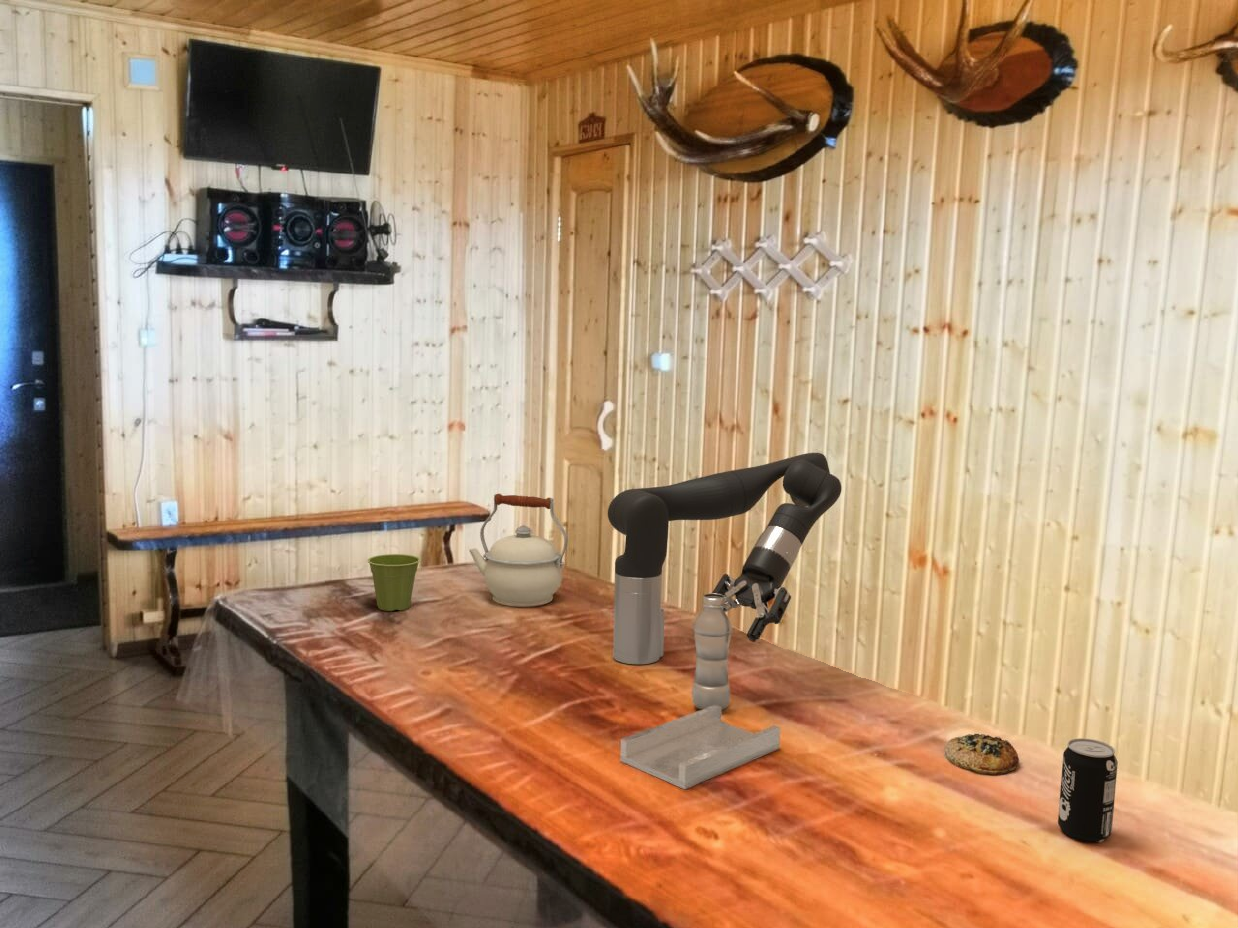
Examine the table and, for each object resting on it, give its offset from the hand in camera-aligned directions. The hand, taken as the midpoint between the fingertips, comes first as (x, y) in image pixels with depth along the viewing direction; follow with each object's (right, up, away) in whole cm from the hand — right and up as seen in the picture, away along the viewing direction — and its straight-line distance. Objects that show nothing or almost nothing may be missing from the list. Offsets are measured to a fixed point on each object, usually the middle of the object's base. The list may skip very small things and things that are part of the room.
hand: (730, 633), depth 185 cm
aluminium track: (-6, -16, -19) cm, 25 cm away
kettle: (-43, -3, +70) cm, 82 cm away
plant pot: (-70, -4, +60) cm, 93 cm away
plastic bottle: (-3, -13, +1) cm, 14 cm away
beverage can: (+43, -20, -42) cm, 63 cm away
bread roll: (+37, -17, -19) cm, 45 cm away
